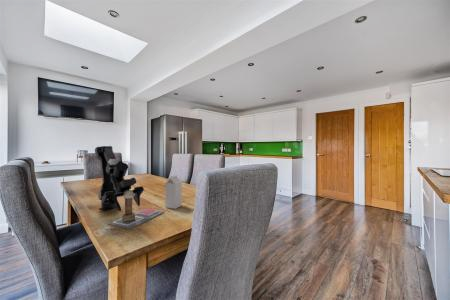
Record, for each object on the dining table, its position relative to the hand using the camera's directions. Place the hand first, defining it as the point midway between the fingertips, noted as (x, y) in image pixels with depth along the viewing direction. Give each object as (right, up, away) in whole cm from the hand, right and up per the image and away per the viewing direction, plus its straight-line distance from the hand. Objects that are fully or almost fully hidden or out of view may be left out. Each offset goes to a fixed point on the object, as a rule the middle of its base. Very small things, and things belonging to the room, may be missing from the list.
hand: (130, 208), depth 91 cm
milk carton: (+15, -7, +24) cm, 29 cm away
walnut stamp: (-1, -6, +1) cm, 7 cm away
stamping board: (+2, -7, +5) cm, 9 cm away
